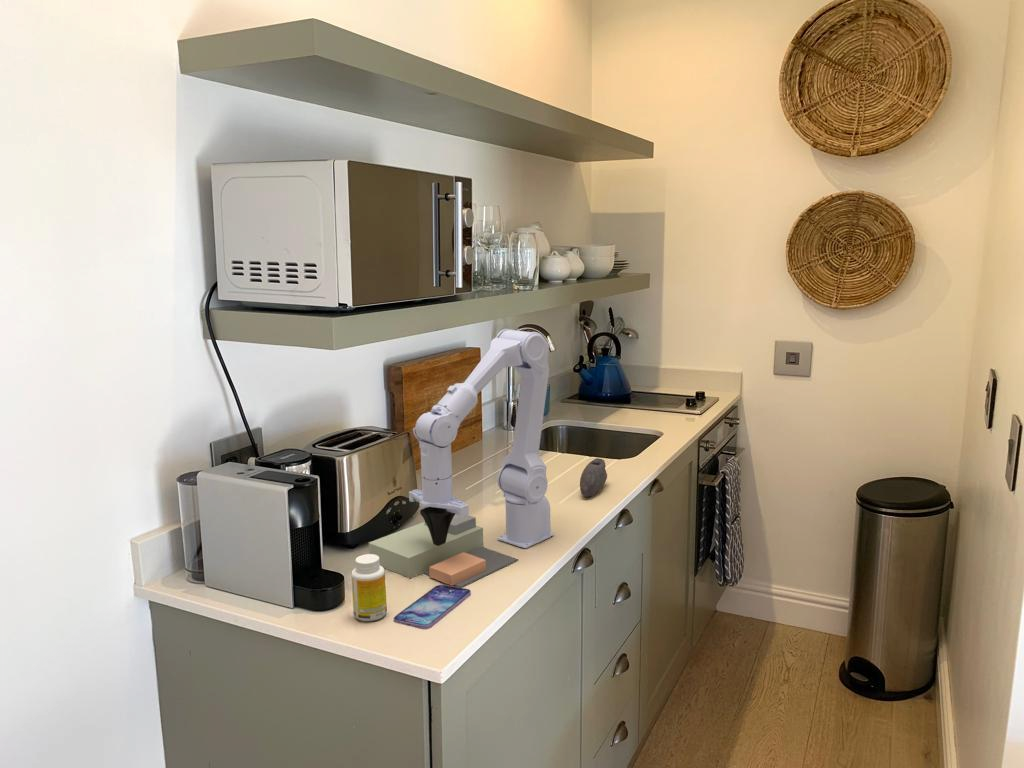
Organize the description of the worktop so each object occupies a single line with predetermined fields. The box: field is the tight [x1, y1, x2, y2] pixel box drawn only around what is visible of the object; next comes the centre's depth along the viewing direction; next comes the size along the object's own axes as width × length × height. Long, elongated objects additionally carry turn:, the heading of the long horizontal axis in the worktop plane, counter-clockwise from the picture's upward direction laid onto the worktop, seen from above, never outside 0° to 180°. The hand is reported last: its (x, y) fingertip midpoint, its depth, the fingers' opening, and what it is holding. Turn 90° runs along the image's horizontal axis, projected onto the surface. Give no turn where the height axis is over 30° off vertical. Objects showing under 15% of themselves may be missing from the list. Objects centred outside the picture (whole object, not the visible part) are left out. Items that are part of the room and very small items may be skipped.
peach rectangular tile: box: [429, 552, 486, 586], centre depth 150 cm, size 9×6×2 cm, turn 138°
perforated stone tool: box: [579, 458, 608, 498], centre depth 196 cm, size 15×5×7 cm, turn 157°
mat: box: [423, 546, 519, 588], centre depth 154 cm, size 16×10×1 cm, turn 138°
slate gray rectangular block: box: [424, 514, 477, 535], centre depth 164 cm, size 9×6×2 cm, turn 48°
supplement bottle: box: [351, 553, 388, 622], centre depth 134 cm, size 6×6×10 cm
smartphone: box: [393, 584, 472, 630], centre depth 138 cm, size 7×1×15 cm
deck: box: [368, 521, 484, 579], centre depth 160 cm, size 20×12×4 cm, turn 138°
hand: (439, 543), depth 153 cm, fingers closed
